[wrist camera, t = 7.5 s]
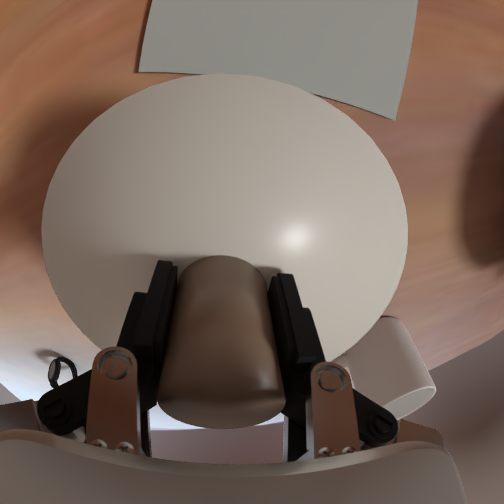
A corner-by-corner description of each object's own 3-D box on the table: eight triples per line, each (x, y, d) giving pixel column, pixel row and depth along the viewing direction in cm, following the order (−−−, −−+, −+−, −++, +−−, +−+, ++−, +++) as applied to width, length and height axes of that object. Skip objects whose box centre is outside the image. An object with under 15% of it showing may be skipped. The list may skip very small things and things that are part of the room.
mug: (311, 368, 34) (327, 440, 25) (313, 329, 29) (336, 414, 20) (394, 349, 33) (420, 411, 25) (409, 307, 29) (448, 377, 20)
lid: (42, 79, 7) (-82, 110, 2) (442, 138, 9) (552, 199, 4) (89, 358, 15) (66, 439, 10) (328, 377, 17) (348, 454, 12)
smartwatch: (66, 350, 30) (55, 380, 26) (87, 372, 33) (79, 400, 28) (48, 351, 30) (37, 379, 26) (69, 372, 33) (60, 399, 29)
